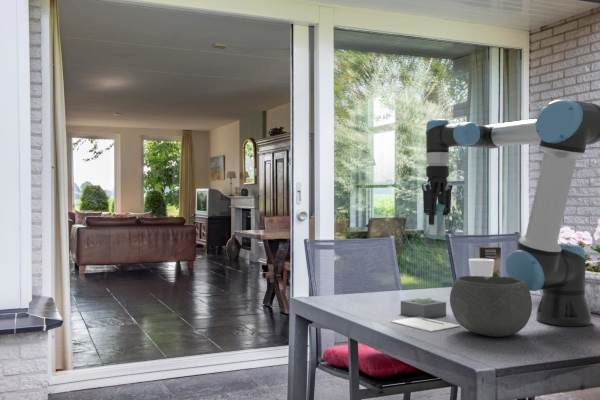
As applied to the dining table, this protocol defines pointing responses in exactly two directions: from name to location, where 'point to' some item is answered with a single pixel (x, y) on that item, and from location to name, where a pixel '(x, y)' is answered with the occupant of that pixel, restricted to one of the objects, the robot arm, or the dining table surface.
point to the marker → (439, 211)
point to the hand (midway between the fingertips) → (437, 234)
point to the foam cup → (481, 267)
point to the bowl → (491, 304)
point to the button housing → (423, 308)
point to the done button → (423, 300)
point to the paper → (425, 324)
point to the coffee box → (490, 257)
